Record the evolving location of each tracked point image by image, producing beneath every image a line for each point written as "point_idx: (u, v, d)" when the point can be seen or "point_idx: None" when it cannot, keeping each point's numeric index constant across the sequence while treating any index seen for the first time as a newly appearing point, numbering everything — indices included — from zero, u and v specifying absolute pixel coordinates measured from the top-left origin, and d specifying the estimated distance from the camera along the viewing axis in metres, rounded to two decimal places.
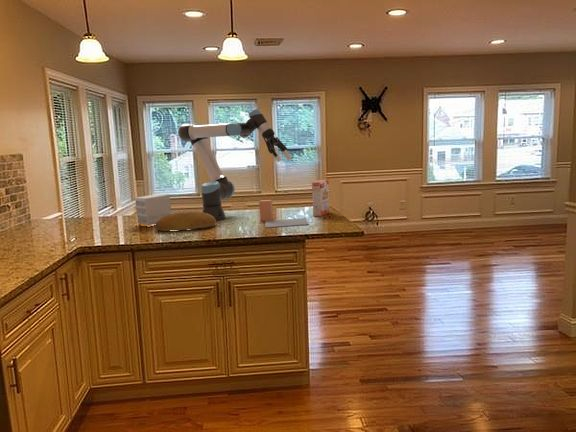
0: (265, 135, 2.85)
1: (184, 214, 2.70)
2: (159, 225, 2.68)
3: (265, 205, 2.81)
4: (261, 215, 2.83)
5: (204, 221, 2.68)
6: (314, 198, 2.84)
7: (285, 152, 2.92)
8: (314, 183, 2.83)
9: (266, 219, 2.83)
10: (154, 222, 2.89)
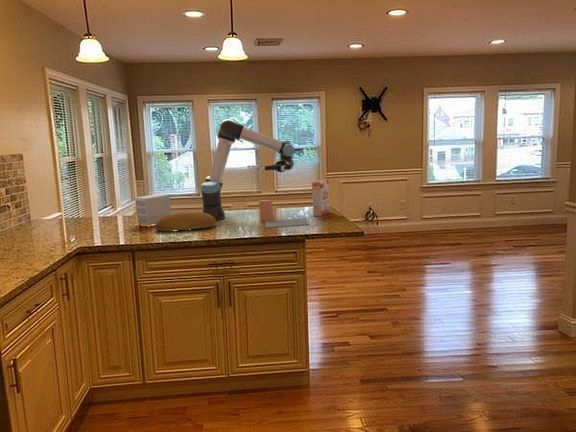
0: None
1: (184, 214, 2.70)
2: (159, 225, 2.68)
3: (265, 205, 2.81)
4: (261, 215, 2.83)
5: (203, 222, 2.67)
6: (314, 198, 2.84)
7: (264, 169, 2.93)
8: (314, 183, 2.83)
9: (266, 219, 2.83)
10: (154, 222, 2.89)
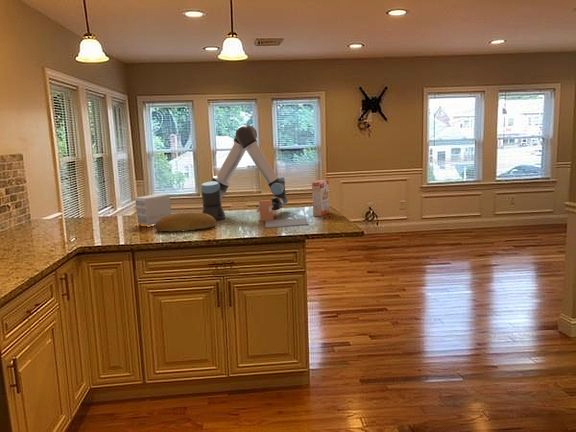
0: (279, 203, 2.97)
1: (184, 214, 2.68)
2: (158, 225, 2.67)
3: (265, 205, 2.81)
4: (261, 215, 2.83)
5: (203, 222, 2.66)
6: (314, 198, 2.84)
7: None
8: (314, 183, 2.83)
9: (266, 219, 2.83)
10: (154, 222, 2.89)
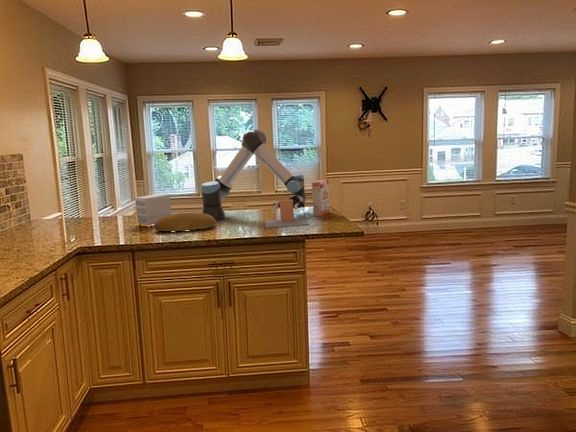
0: (299, 201, 2.88)
1: (184, 215, 2.67)
2: (158, 226, 2.65)
3: (286, 205, 2.73)
4: (281, 215, 2.75)
5: (203, 222, 2.65)
6: (314, 198, 2.84)
7: (277, 206, 2.78)
8: (314, 183, 2.83)
9: (287, 219, 2.74)
10: (154, 222, 2.89)
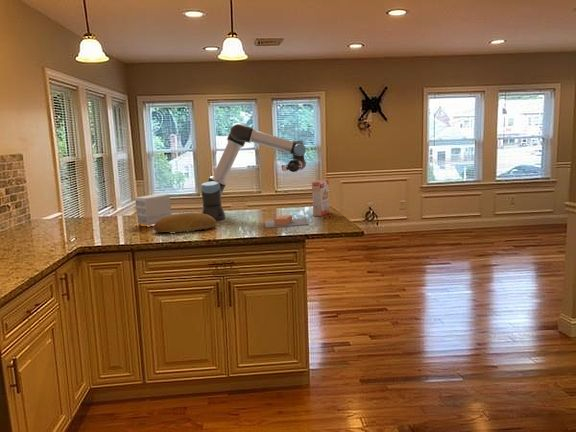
0: None
1: (184, 215, 2.65)
2: (158, 227, 2.62)
3: None
4: None
5: (204, 223, 2.64)
6: (314, 198, 2.84)
7: None
8: (314, 183, 2.83)
9: None
10: (154, 222, 2.89)
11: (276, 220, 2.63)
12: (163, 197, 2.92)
